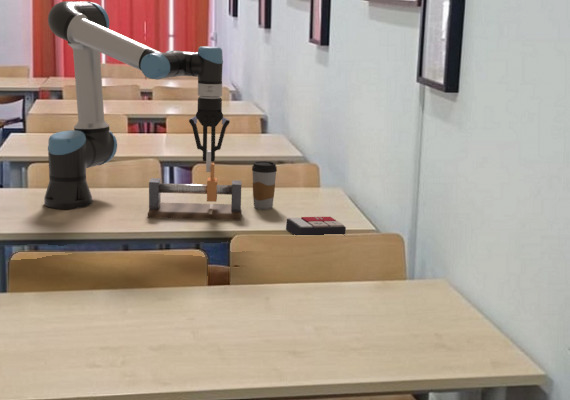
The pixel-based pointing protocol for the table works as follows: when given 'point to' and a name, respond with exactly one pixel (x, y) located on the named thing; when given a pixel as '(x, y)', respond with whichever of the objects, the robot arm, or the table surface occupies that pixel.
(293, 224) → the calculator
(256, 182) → the coffee cup
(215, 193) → the orange slotted block
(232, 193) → the pipe
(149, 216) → the base board
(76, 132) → the robot arm
